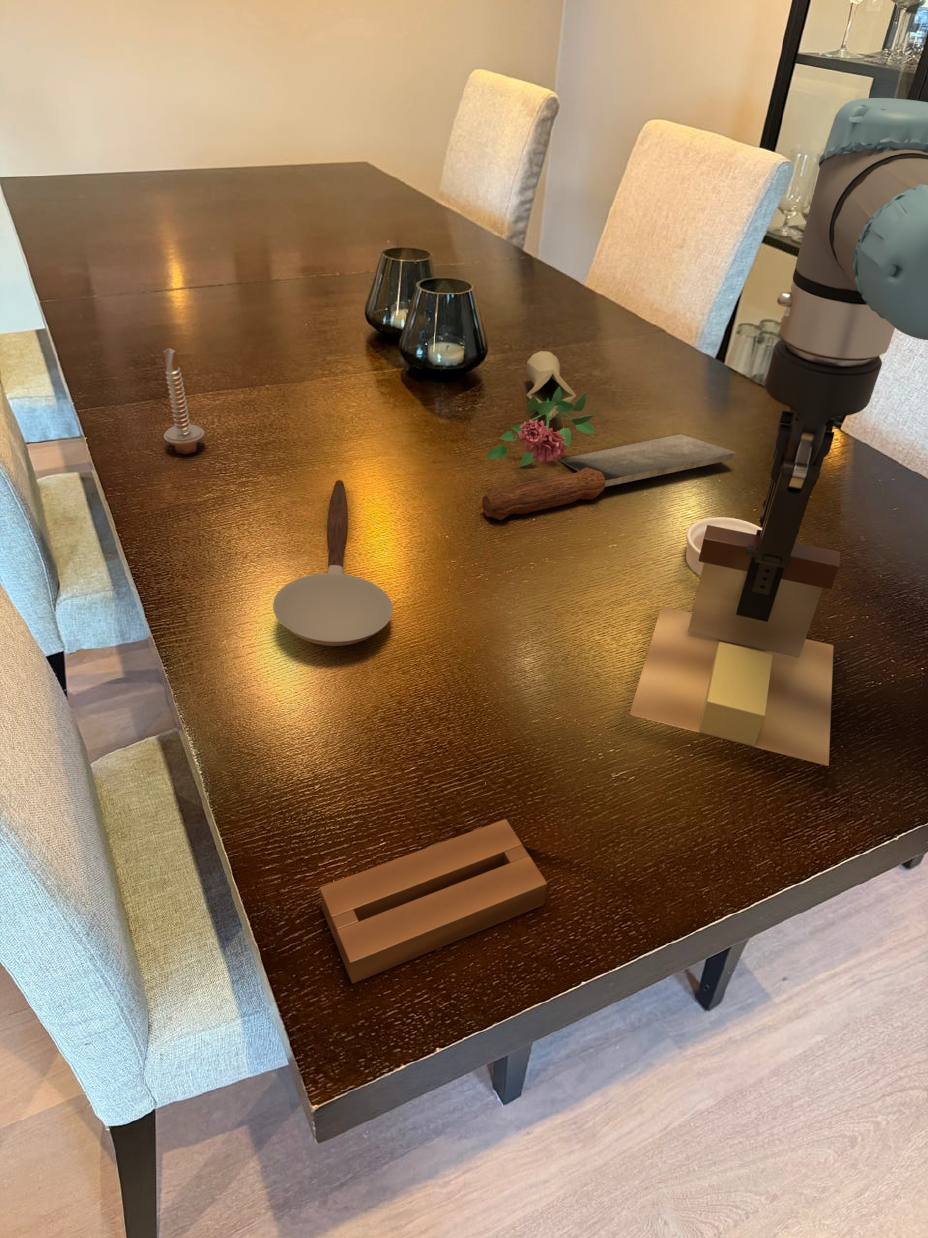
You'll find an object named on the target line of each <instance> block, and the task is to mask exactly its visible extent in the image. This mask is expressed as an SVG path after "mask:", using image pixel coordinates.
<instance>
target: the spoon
mask: <svg viewBox="0 0 928 1238" xmlns="http://www.w3.org/2000/svg"><path fill="white" fill-rule="evenodd" d="M347 500H348V499H347V494H346V488H345V484H344V482H343V480H341V479H337V480H336V481H335V483H334V485H333V489H332V493H331V495H330V501H329V505H328V513H327V521H326V522H327V527H326V533H327V534H326V535H327V537H326V538H327V545H328V562H327V571H326V572H327V573H324V572H323V573H316V574H315V573H314V574H310V575H306V576H302V577H300V578H296V579H294V580H292V581H290V582H288V583H287V584H285V585H284V586H283V587H282V588H280V589H279V590H278V591H277V593H276V594H275V596H274V598H273V602H272V610H273V613H274V616H275V618H276V619H277V621H278V623H280V624H281V626H283V627H284V629H286V630H287V631H289V632H290V633H291V634H293V635H294V636H296V637H298V638H300V639H302V640H304V641H307V642H308V643H313V644H316V645H321V646H326V647H342V646H348V645H353V644H357V643H360V642H363V641H366V640H367V639H369V638H371V637H373V636H374V635H376V634H378V633H379V632H380V631H381V630H383V629H384V628H385V627H386V626H387V625H388V623H389V622H390V621H391V618H392V616H393V612H394V608H393V607H394V606H393V602H392V600H391V598H390V596H389V595H388V594H387V592H386V591H385V590H384V589H382V588H381V587H380V586H378V585H377V584H375V583H373V582H371V581H369V580H367V579H365V578H362V577H360V576H355V575H350V574H346V573H345V574H344V554H345V553H344V552H345V547H346V543H347V536H348V525H349V523H348V522H349V521H348V520H349V515H348V511H349V510H348V509H349V508H348V501H347Z"/></svg>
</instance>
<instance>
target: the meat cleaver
mask: <svg viewBox="0 0 928 1238" xmlns="http://www.w3.org/2000/svg"><path fill="white" fill-rule="evenodd" d="M735 459H736V451H734V450H731V449H727V448H724V447H721V446H718V445H715V444H712V443H709V442H706V441H703V440H700V439H697V438H694V437H690V436H688V435H685V434H682V433H681V434H680V433H679V434H674V435H670V436H666V437H661V438H655V439H650V440H646V441H641V442H640V441H639V442H635V443H631V444H626V445H621V446H617V447H612V448H607V449H602V450H597V451H593V452H587V453H583V454H577V455H573V456H568V457H564V458H560V459H558V461H559V462H561V463H562V464H564V465H566V466H568V467H570V468H571V469H573V470H574V471H576V472H571V473H560V474H555V475H551V476H546V477H542V478H541V477H540V478H537V479H532V480H528V481H523V482H518V483H515V484H513V485H512V486H509V487H507V488H501V487H495V486H494V487H492V488H491V489H490V490H489V491H487V492H486V493H485V494H484V495H483V496H482V500H481V505H482V510H483V513H484V514H485V515H486V517H489V518H491V519H495V520H499V521H502V520H504V519H505V518H507V517H508V516H510V515H524V514H528V513H532V512H533V513H534V512H537V511H543V510H546V509H550V508H555V507H559V506H565V505H568V504H571V503H573V502H575V501H578V500H589V501H592V500H594V499H596V498H597V496H599V495H600V494H601V493H602V492H603V491H604V490H605V488H606V487H611V486H616V485H620V484H625V483H629V482H634V481H638V480H644V479H648V478H652V477H657V476H662V475H667V474H671V473H676V472H681V471H686V470H691V469H694V468H700V467H705V466H710V465H714V464H718V463H722V462H728V461H732V460H735Z"/></svg>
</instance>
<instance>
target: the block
mask: <svg viewBox="0 0 928 1238" xmlns="http://www.w3.org/2000/svg"><path fill="white" fill-rule="evenodd" d="M547 888H548V882H547V881H546V879H545V877H544V876H543V874H542V873H541V871H540V870H539V868H538V866H537V865H536V863H535V862H534V860H533V858H532V857H531V856H530V854H529V853H528V851H527V850H526V848H525V847H524V845H523V843H522V842H521V840H520V838H519V837H518V836H517V834H516V832H515V830H514V829H513V828H512V826H511V824H510V823H509V821H508V819H506V818H504V819H502V820H499V821H497V822H494V823H491V824H488V825H485V826H483V827H479V828H477V829H475V830H472V831H469V832H466V833H463V834H461V835H459V836H455V837H453V838H450V839H447V840H444V841H442V842H438V843H437V844H434V845H430V846H428V847H426V848H423V849H420V850H417V851H414V852H412V853H409V854H406V855H404V856H401V857H398V858H395V859H393V860H390V861H387V862H385V863H382V864H379V865H377V866H374V867H371V868H368V869H365V870H363V871H360V872H357V873H355V874H352V875H349V876H347V877H343V878H341V879H338V880H336V881H333V882H331V883H328V884H325V885H322V886H319V895H320V905H321V911H322V913H323V915H324V918H325V920H326V923H327V926H328V928H329V930H330V934H331V935H332V938H333V940H334V942H335V945H336V948H337V950H338V953H339V955H340V958H341V960H342V962H343V964H344V965H343V966H344V968H345V970H346V973H347V975H348V978H349V981H350V983H351V984H352V985H353V984H355V983H358V982H361V981H363V980H367V979H368V978H370V977H373V976H376V975H378V974H380V973H383V972H385V971H388V970H390V969H392V968H394V967H397V966H399V965H401V964H405V963H406V962H409V961H412V960H414V959H416V958H419V957H422V956H423V955H424V956H425V955H426V954H428V953H431V952H433V951H436V950H438V949H441V948H443V947H446V946H448V945H450V944H452V943H456V942H457V941H460V940H462V939H465V938H467V937H470V936H472V935H475V934H476V933H480V932H482V931H484V930H486V929H489V928H492V927H495V926H497V925H499V924H501V923H503V922H505V921H508V920H511V919H513V918H515V917H518V916H521V915H523V914H526V913H528V912H531V911H532V910H535V909H538V908H539V907H542V906H544V905H545V901H546V894H547Z"/></svg>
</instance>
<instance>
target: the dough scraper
mask: <svg viewBox="0 0 928 1238" xmlns="http://www.w3.org/2000/svg"><path fill="white" fill-rule="evenodd" d="M759 538H760V535H755V534H750V533H745V532H740V531H735V530H730V529H726V528H721V527H716V526H711V525H707V527H706V531H705V535H704V539H703V543H702V546H701V547H700V551H701V552H700V556H699V562H704V565H703V569H702V574H701V576H700V578H699V583H698V586H697V589H696V590H697V591H696V593H695V594H696V595H695V599H694V603H693V607H692V612H691V613H692V615H691V619H690V623H689V627H688V632H690V633H694V634H698V635H703V636H707V637H711V638H716V639H720V640H724V641H729V642H733V643H737V644H741V645H746V646H750V647H754V648H759V649H763V650H767V651H772V652H776V653H780V654H784V655H789V656H793V657H797V658H799V657H800V654H801V651H802V648H803V645H804V642H805V639H807V637H808V633H809V631H810V628H811V625H812V622H813V619H814V616H815V614H816V610H817V608H818V604H819V603H820V599H821V596H822V593H823V590H824V589H826V590H832V588H833V586H834V583H835V580H836V577H837V575H838V572H839V568H840V558H841V555H840V554H841V552H840V551H838V550H834V549H828V548H824V547H818V546H815V545H814V546H813V545H808V544H804V543H801V542H800V543H799V542H795V543H794V547H793V550H792V553H791V556H790V558H791V560H790V564H789V565H788V567H787V568H784V571H783V575H782V578H781V581H780V584H779V587H778V591H777V594H776V597H775V600H774V604H773V607H772V610H771V613H770V617H769V620H768V622H765V621H761V620H757V619H752V618H748V617H743V616H739V615H736V612H737V608H738V604H739V601H740V597H741V594H742V590H743V587H744V583H745V579H746V576H747V572H748V569H749V565H750V562H751V558H752V556H747V555H746V550H747V546H748V545H750V546H755V547H756V546H757V545H758V542H759Z"/></svg>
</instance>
